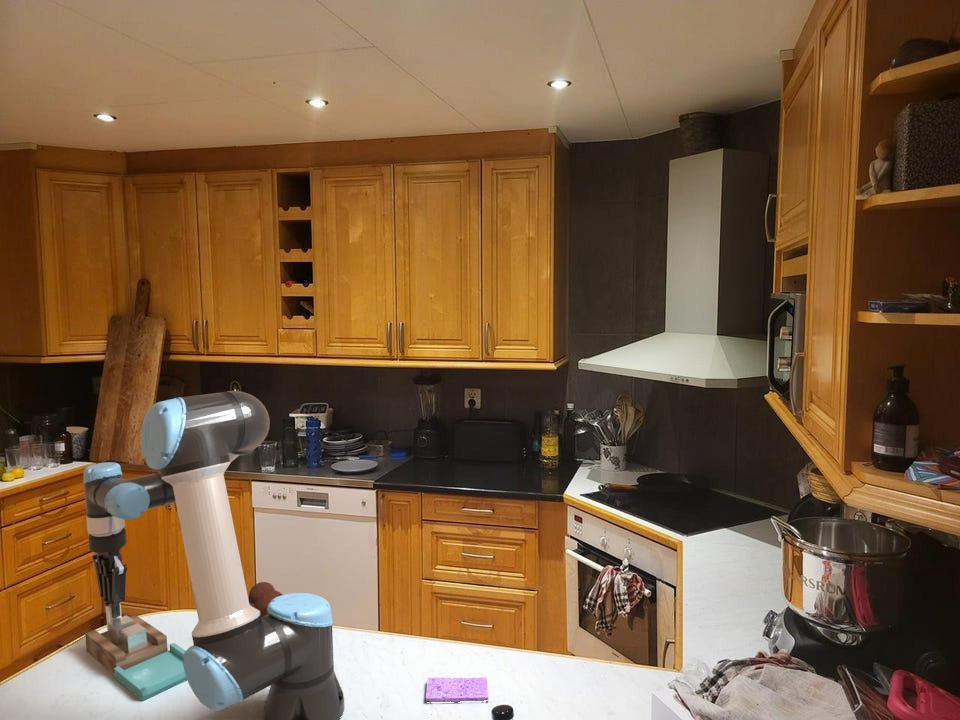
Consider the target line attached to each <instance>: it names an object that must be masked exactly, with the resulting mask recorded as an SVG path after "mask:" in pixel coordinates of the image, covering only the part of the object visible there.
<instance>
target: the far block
mask: <svg viewBox="0 0 960 720" xmlns="http://www.w3.org/2000/svg"><path fill="white" fill-rule="evenodd" d="M132 625H134V620H133V619H131V618H130V617H129V615H127V614H125V615H123V616H122V617H120V618H117V619H115V620H112V621H109V622H108V628H109V639H111V640H112V641H113V642H115V643H116V644H119V643H120V630H122V629H124V628H127V627H130V626H132Z"/></svg>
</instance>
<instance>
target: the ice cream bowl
mask: <svg viewBox="0 0 960 720" xmlns="http://www.w3.org/2000/svg"><path fill="white" fill-rule="evenodd" d="M281 595H284V594H283V593H281V592H280V591H278V590H276V589H275V588H274V585H272V583H270V582H267V581H260V582H258V583H256V584H254V585H253V586H252V587H251V588H250V590H249V592H248V600H249V604H250V605H251V606H252V607H254V608H256V609H257V610H259V611H260V614H261V617H264V616H266V615H267V614H268V612H267V608H268V605H269V603H270V602H271V600H273V599H274V598H276V597H278V596H281Z"/></svg>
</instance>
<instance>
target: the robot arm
mask: <svg viewBox="0 0 960 720" xmlns="http://www.w3.org/2000/svg"><path fill="white" fill-rule="evenodd" d="M270 425H271V424H270V415H269V412H268V410H267V408H266V406H265V405H264V404H263V403H262V401H260V400H259V399H258V398H257V397H256V396H254V395H252V394H250V393H247V392H244V391H239V390H228V391H222V392H215V393H207V394H198V395H191V396H181V397H175V398H172V399H167V400H163V401H158V402H156V403H154V404H152V405H151V406H150V407H149V408H148V409H147V412H146V413H145V415H144V417H143V421H142V425H141V431H140V433H141V434H140V436H141V437H140V444H141V452H142V456H143V458H144V460H145V464H146V465H147V467H149V468H150V469H152V470H156V471H159V472H156V473H152V474H151V473H150V474H146V475H142V476H137V477H133V478H128V479H125V478H123V472H122V469H121V468H122V467H121V465H120V464H119V463H117V462H111V461H110V462H109V461H108V462H100V463H95V464H91V465H88V466H87V467H85V468H84V469H83V482H82V485H83V489H84V490H83V491H84V500H85V512H86V516H85V517H86V529H87V534H88V536H87V537H88V548H89V550H90V551H91V552H92V553H94V554H93V555H92V560H93V564H94V567H95V572H96V574H95V575H96V578H97V579H96V580H97V583H98V591H99V596H100V597H101V598H102V599H103V602H104V606H105V616H106V627H107V628H106V629H107V631H109V628H108V622H109V621H112V620H115V619H117V618H120V617H123V616H122V607H121V603H122V602H123V603H124V602H125V600H126V582H127V581H126V580H127V579H126V578H127V577H126V576H127V571H128V565H127V564H126V563H125V564H122V561H123V559H122V558H123V557H122V554H121V552H120V551H121V549H122V548H124V547H125V546H126V544H127V530H126V529H125V527H126V521H128V520H134V519H138V518H139V517H141V516H142V515H143V514H145V513H146V511H148V510H151V509H155V508H160V507H162V506H166V505H171V504H174V503H175V505H176V509H177V515H178V520H179V527H180V530H181V535H182V542H183V546H184V552H185V557H186V561H187V567H188V571H189V577H190V581H191V587H192V592H193V598H194V603H195V608H196V613H197V618H198V620H197V621H198V622H197V624H196V625H195V626H194V628H193V630H192V631H191V638H192V644H193V645H190V646H189V647H188V648H187V649H185V653H184V656H183V658H184V660H183V667H184V671H185V675H186V678H187V680H186V681H187V684H188V685H189V687H190V688H191V691H192V692H193V694H194V695H195V697H196V698H197V700H198V701H199V702H200V703H201V704H202V705H203V706H205V707H206V708H207V709H209V710H212V711H222V710H224V709H227V708H229V707H231V706H233V705H235V704H240V703H242V702H243V701H244V700H246V699H247V698H249V697H251V696H253V695H255V694H257V693H259V692H261V691H263V690H264V689H266V688H268V687H269V691H268V693H267V699H266V701H265V704H264V707H263V720H339V719H340V720H341V718H342V717H341V716H343V715H344V713H345V695H344V692H343V690H342V686H341V685H340V682H339V680H338V679H339V678H338V677H337V674H336V671H335V669H334V668H335V666H334V640H333V637H334V636H333V624H334V619H333V613H332V608H331V604H330V603H329V601H328V600H327V599H325V598H324V597H322V596H321V595H317V594H313V593H305V592H292V593H285V594H283V595H281V596H278V597H276V598H274V599H273V600H271V602H270V603H269V605H268V608H267V612H268V614H267V615H266V616H264V617H261V614H260V611H259V610H257V609H256V608H254V607H252V606H251V605H250V604H249V600H248V599H249V594H248V591H247V586H246V581H245V580H246V579H245V575H244V570H243V566H242V561H241V555H240V550H239V546H238V540H237V535H236V531H235V530H236V529H235V526H234V520H233V516H232V511H231V505H230V501H229V495H228V492H227V491H228V490H227V485H226V480H225V476H224V475H225V472H227V471H226V470H227V469H228V468H229V466H230V464H231V463H232V462H233V461H235V460H236V459H237V458H238V457H239V456H245V455H248V454H249V453H252V452H253V451H254V450H255V449H256V448H258V447H259V446H260V445H262V444H263V442H264V440H266V438H267V436H268V433H269V432H270V431H269V430H270ZM125 520H126V521H125ZM95 553H96V554H95ZM343 712H344V713H343ZM340 717H341V718H340Z"/></svg>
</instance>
